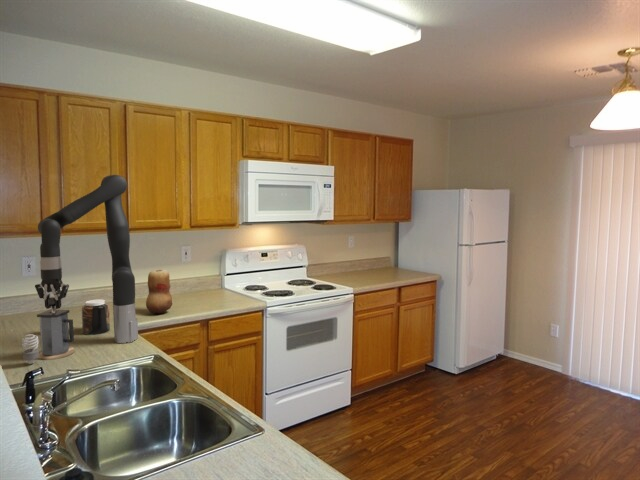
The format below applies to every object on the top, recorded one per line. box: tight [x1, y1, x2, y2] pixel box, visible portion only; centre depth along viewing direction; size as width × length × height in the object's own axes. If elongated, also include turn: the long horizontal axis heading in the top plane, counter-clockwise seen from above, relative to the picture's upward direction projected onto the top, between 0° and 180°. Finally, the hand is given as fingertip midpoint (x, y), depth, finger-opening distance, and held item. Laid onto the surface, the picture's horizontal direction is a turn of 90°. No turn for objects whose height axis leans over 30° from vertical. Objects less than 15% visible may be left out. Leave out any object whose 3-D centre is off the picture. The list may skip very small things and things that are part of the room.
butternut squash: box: [145, 268, 173, 315], centre depth 256 cm, size 14×13×25 cm
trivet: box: [37, 346, 75, 361], centre depth 191 cm, size 14×14×1 cm
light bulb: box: [21, 333, 40, 365], centre depth 179 cm, size 6×6×12 cm
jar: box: [81, 299, 111, 336], centre depth 222 cm, size 12×12×15 cm
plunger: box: [48, 296, 55, 313], centre depth 190 cm, size 7×7×20 cm
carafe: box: [36, 309, 75, 356], centre depth 190 cm, size 13×10×17 cm
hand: (53, 308), depth 189 cm, fingers closed on plunger, 3 cm apart
